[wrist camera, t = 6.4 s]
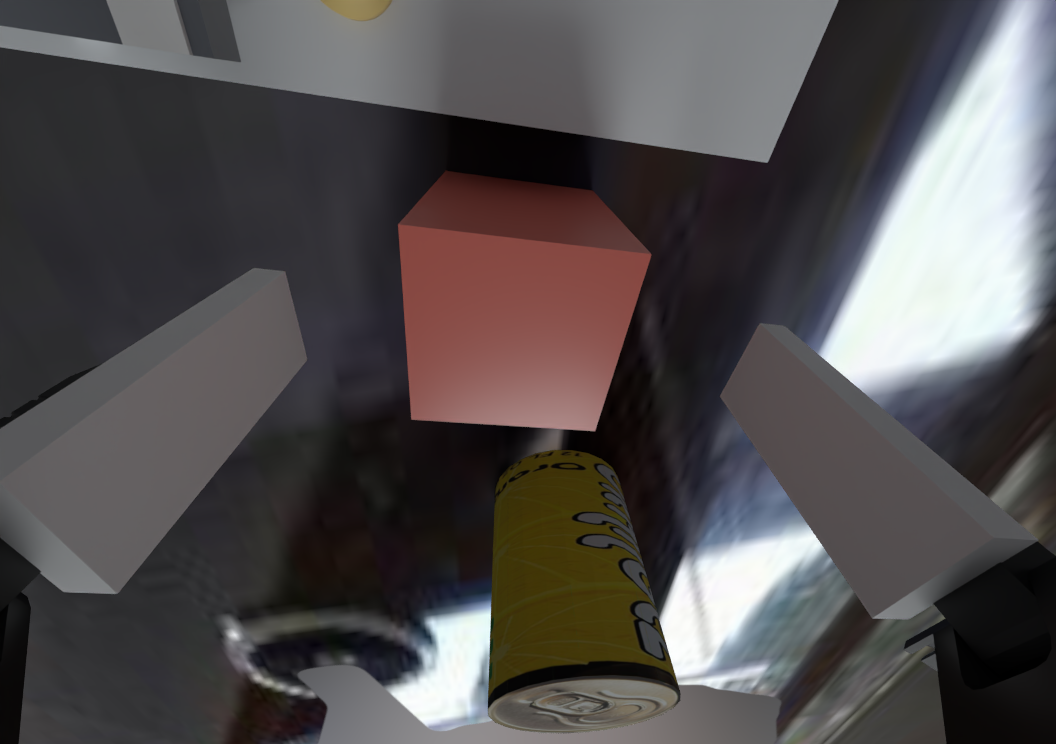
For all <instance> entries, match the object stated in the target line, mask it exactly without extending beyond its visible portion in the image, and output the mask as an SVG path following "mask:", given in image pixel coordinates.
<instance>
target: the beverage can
mask: <svg viewBox="0 0 1056 744" xmlns="http://www.w3.org/2000/svg"><path fill="white" fill-rule="evenodd" d="M679 701H680V690H679V687H678V683H677V680H676V676H675V673H674V669H673V666H672V663H671V659H670V656H669V652H668V649H667V645H666V642H665V638H664V635H663V632H662V628H661V625H660V621H659V618H658V614H657V611H656V607H655V604H654V600H653V597H652V594H651V590H650V587H649V583H648V580H647V576H646V573H645V569H644V566H643V563H642V559H641V556H640V552H639V549H638V545H637V542H636V538H635V535H634V531H633V528H632V525H631V521H630V518H629V514H628V511H627V507H626V504H625V500H624V497H623V493H622V490H621V487H620V483H619V480H618V476H617V475H616V473H615V472H614V470H613V468H612V467H611V466H610V465H609V464H607V463H606V462H605V461H604V460H602V459H600V458H598V457H596V456H593V455H591V454H589V453H584V452H579V451H573V450H552V451H547V452H542V453H537V454H534V455H531V456H529V457H526V458H524V459H521V460H519V461H518V462H516V463H515V464H513V465H512V466H510V467H509V468H508V469H507V470H506V471H505V472H504V473H503V474H502V476H501V477H500V478H499V480H498V483H497V485H496V488H495V513H494V542H493V572H492V602H491V631H490V661H489V690H488V715H489V717H490V718H491V719H492V720H493V721H494V722H495V723H498V724H500V725H503V726H505V727H508V728H513V729H517V730H522V731H530V732H540V733H576V732H590V731H599V730H607V729H613V728H618V727H624V726H628V725H632V724H636V723H640V722H643V721H647V720H649V719H652V718H655V717H657V716H660V715H662V714H664V713H666V712H667V711H669V710H671V709H672V708H674V707H675V706H676V704H677V703H678V702H679Z"/></svg>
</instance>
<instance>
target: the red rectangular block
mask: <svg viewBox="0 0 1056 744" xmlns="http://www.w3.org/2000/svg"><path fill="white" fill-rule="evenodd" d="M398 229H399V243H400V258H401V273H402V287H403V302H404V317H405V331H406V346H407V360H408V375H409V390H410V404H411V419H412V420H427V421H443V422H459V423H474V424H490V425H505V426H521V427H537V428H552V429H568V430H583V431H595V430H596V427H597V424H598V421H599V417H600V414H601V411H602V408H603V405H604V402H605V399H606V395H607V392H608V389H609V386H610V383H611V380H612V377H613V374H614V370H615V367H616V364H617V361H618V358H619V355H620V352H621V349H622V345H623V342H624V339H625V336H626V333H627V330H628V327H629V324H630V320H631V317H632V314H633V311H634V308H635V305H636V302H637V298H638V295H639V292H640V289H641V286H642V283H643V280H644V277H645V273H646V270H647V267H648V264H649V261H650V258H651V255H652V254H651V253H650V252H649V251H648V250H647V249H646V248H645V247H644V246H643V244H642V243H641V242H640V241H639V240H638V239H637V238H636V237H635V236H634V235H633V234H632V233H631V232H630V230H629V229H628V228H627V227H626V226H625V225H624V224H623V223H622V222H621V221H620V220H619V219H618V218H617V216H616V215H615V214H614V213H613V212H612V211H611V210H610V209H609V208H608V207H607V206H606V205H605V204H604V202H603V201H602V200H601V199H600V198H599V197H598V196H597V195H596V194H595V193H594V192H593V191H592V190H585V189H577V188H570V187H563V186H555V185H548V184H540V183H533V182H526V181H518V180H511V179H503V178H496V177H488V176H481V175H474V174H466V173H459V172H451V171H445V172H444V173H443V175H442V176H441V177H440V178H439V179H438V180H437V181H436V182H435V184H434V185H433V186H432V187H431V188H430V189H429V190H428V191H427V193H426V194H425V195H424V196H423V197H422V198H421V199H420V200H419V202H418V203H417V204H416V205H415V206H414V207H413V208H412V209H411V211H410V212H409V213H408V214H407V215H406V216H405V217H404V218H403V220H402V221H401V222H400V223H399V224H398Z"/></svg>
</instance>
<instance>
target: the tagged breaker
mask: <svg viewBox="0 0 1056 744" xmlns="http://www.w3.org/2000/svg"><path fill="white" fill-rule="evenodd" d="M0 26H6V27H12V28H19V29H25V30H32V31H38V32H45V33H51V34H58V35H64V36H71V37H77V38H84V39H90V40H96V41H103V42H109V43H116V44H122V45H128V46H135V47H141V48H148V49H154V50H161V51H167V52H174V53H180V54H187V55H193V56H200V57H206V58H213V59H220V60H228V61H235V62H241V59H240V55H239V51H238V47H237V43H236V39H235V35H234V30H233V26H232V22H231V18H230V14H229V10H228V6H227V2H226V0H0Z"/></svg>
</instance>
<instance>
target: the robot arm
mask: <svg viewBox="0 0 1056 744" xmlns="http://www.w3.org/2000/svg"><path fill="white" fill-rule="evenodd" d="M306 361H307V356H306V352H305V348H304V344H303V340H302V336H301V332H300V328H299V324H298V321H297V317H296V313H295V309H294V305H293V301H292V297H291V293H290V289H289V285H288V281H287V277H286V273H285V271H276V270H267V269H258V268H253V269H251V270H250V271H248V272H247V273H245V274H244V275H242V276H240V277H239V278H237V279H236V280H234V281H232V282H231V283H229V284H228V285H226V286H225V287H223V288H221V289H220V290H218V291H217V292H215V293H214V294H212V295H210V296H209V297H207V298H206V299H204V300H202V301H201V302H199V303H198V304H196V305H195V306H193V307H191V308H190V309H188V310H187V311H185V312H184V313H182V314H180V315H179V316H177V317H176V318H174V319H173V320H171V321H169V322H168V323H166V324H165V325H163V326H161V327H160V328H158V329H157V330H155V331H154V332H152V333H150V334H149V335H147V336H146V337H144V338H143V339H141V340H139V341H138V342H136V343H135V344H133V345H131V346H130V347H128V348H127V349H125V350H124V351H122V352H120V353H119V354H117V355H116V356H114V357H113V358H111V359H109V360H108V361H106V362H105V363H103V364H101V365H98V366H95V367H93V368H90V369H88V370H85V371H83V372H80V373H78V374H75V375H73V376H70V377H68V378H67V379H65V380H64V381H62V382H60V383H59V384H57V385H55V386H54V387H52V388H51V389H49V390H47V391H46V392H44V393H42V394H41V395H39V396H38V397H39V399H38V400H31V401H29V402H28V403H26V404H25V405H23V406H21V407H20V408H18V409H16V410H15V411H13V412H12V416H11V417H3V418H2V419H0V744H18V743H19V732H20V721H21V710H22V699H23V688H24V677H25V666H26V656H27V645H28V634H29V623H30V612H31V607H30V604H29V601H28V597H27V596H25V595H24V594H23V593H21V591H22V590H23V589H24V588H25V587H26V586H27V585H28V584H29V583H30V582H31V581H32V580H33V579H34V578H35V577H36V576H37V575H38V574H39V573H41V574H42V575H43V576H45V577H46V578H47V579H48V580H49V581H51V582H52V583H53V584H54V585H56V586H57V587H58V588H59V589H61V590H62V591H63V592H76V593H107V594H118V593H119V591H120V590H121V589H122V588H123V586H124V585H125V584H126V583H127V581H128V580H129V579H130V578H131V576H132V575H133V574H134V573H135V572H136V570H137V569H138V568H139V567H140V565H141V564H142V563H143V562H144V560H145V559H146V558H147V557H148V556H149V554H150V553H151V552H152V551H153V549H154V548H155V547H156V546H157V544H158V543H159V542H160V541H161V540H162V538H163V537H164V536H165V535H166V533H167V532H168V531H169V530H170V528H171V527H172V526H173V525H174V523H175V522H176V521H177V520H178V519H179V517H180V516H181V515H182V514H183V512H184V511H185V510H186V509H187V507H188V506H189V505H190V504H191V503H192V501H193V500H194V499H195V498H196V496H197V495H198V494H199V493H200V491H201V490H202V489H203V488H204V486H205V485H206V484H207V483H208V482H209V480H210V479H211V478H212V477H213V475H214V474H215V473H216V472H217V470H218V469H219V468H220V467H221V466H222V464H223V463H224V462H225V461H226V459H227V458H228V457H229V456H230V454H231V453H232V452H233V451H234V450H235V448H236V447H237V446H238V445H239V443H240V442H241V441H242V440H243V438H244V437H245V436H246V435H247V433H248V432H249V431H250V430H251V429H252V427H253V426H254V425H255V424H256V422H257V421H258V420H259V419H260V417H261V416H262V415H263V414H264V413H265V411H266V410H267V409H268V408H269V406H270V405H271V404H272V403H273V401H274V400H275V399H276V398H277V397H278V395H279V394H280V393H281V392H282V390H283V389H284V388H285V387H286V385H287V384H288V383H289V382H290V380H291V379H292V378H293V377H294V376H295V374H296V373H297V372H298V371H299V369H300V368H301V367H302V366H303V364H304V363H305V362H306ZM720 397H721V399H722V400H723V401H724V403H725V404H726V406H727V407H728V409H729V410H730V412H731V413H732V415H733V416H734V417H735V419H736V420H737V422H738V423H739V425H740V426H741V428H742V429H743V431H744V432H745V434H746V435H747V436H748V438H749V439H750V441H751V442H752V444H753V445H754V447H755V448H756V450H757V451H758V452H759V454H760V455H761V457H762V458H763V460H764V461H765V463H766V464H767V466H768V467H769V468H770V470H771V471H772V473H773V474H774V476H775V477H776V479H777V480H778V482H779V483H780V484H781V486H782V487H783V489H784V490H785V492H786V493H787V495H788V496H789V498H790V499H791V500H792V502H793V503H794V505H795V506H796V508H797V509H798V511H799V512H800V514H801V515H802V517H803V518H804V519H805V521H806V522H807V524H808V525H809V527H810V528H811V530H812V531H813V533H814V534H815V535H816V537H817V538H818V540H819V541H820V543H821V544H822V546H823V547H824V549H825V550H826V551H827V553H828V554H829V556H830V557H831V559H832V560H833V562H834V563H835V565H836V566H837V567H838V569H839V570H840V572H841V573H842V575H843V576H844V578H845V579H846V581H847V582H848V584H849V585H850V586H851V588H852V589H853V591H854V592H855V594H856V595H857V597H858V598H859V600H860V601H861V602H862V604H863V605H864V607H865V608H866V610H867V611H868V613H869V614H870V616H871V617H872V618H880V619H910V618H912V617H913V616H915V615H917V614H918V613H920V612H922V611H923V610H925V609H927V608H928V607H930V606H931V605H933V604H934V605H935V606H936V607H937V608H938V610H939V611H940V612H941V613H942V614H943V616H944V617H945V618H946V619H944V620H942V621H941V622H939V623H937V624H935V625H934V626H932V627H930V628H928V629H927V630H925V631H923V632H921V633H919V634H918V635H916V636H914V637H912V638H911V639H909V640H907V641H906V643H905V647H904V650H905V651H907V652H908V653H910V654H912V653H914V652H916V651H918V650H920V649H922V648H924V647H925V646H929V647H932V648H935V651H933V652H931V653H929V654H928V655H926V656H924V657H923V658H922V659H921V661H922V662H924V663H925V664H927V665H929V666H930V667H932V668H933V669H935V670H936V671H938V678H939V686H940V694H941V702H942V710H943V718H944V726H945V734H946V742H947V744H1056V556H1055V555H1054V554H1052V553H1051V552H1050V551H1048V550H1047V549H1046V548H1045V547H1043V546H1042V545H1041V544H1040V543H1039V542H1037V541H1038V539H1037V538H1036V537H1034V536H1033V535H1032V534H1031V533H1030V532H1028V531H1027V530H1026V529H1025V528H1024V527H1022V526H1021V525H1020V524H1019V523H1018V522H1017V521H1015V520H1014V519H1013V518H1012V517H1011V516H1009V515H1008V514H1007V513H1006V512H1005V511H1003V510H1002V509H1001V508H1000V507H999V506H998V505H996V504H995V503H994V502H993V501H992V500H990V499H989V498H988V497H987V496H986V495H984V494H983V493H982V492H981V491H980V490H979V489H977V488H976V487H975V486H974V485H973V484H971V483H970V482H969V481H968V480H967V479H965V478H964V477H963V476H962V475H961V474H960V473H958V472H957V471H956V470H955V469H954V468H952V467H951V466H950V465H949V464H948V463H946V462H945V461H944V460H943V459H942V458H941V457H939V456H938V455H937V454H936V453H935V452H933V451H932V450H931V449H930V448H929V447H927V446H926V445H925V444H924V443H923V442H922V441H920V440H919V439H918V438H917V437H916V436H914V435H913V434H912V433H911V432H910V431H908V430H907V429H906V428H905V427H904V426H903V425H901V424H900V423H899V422H898V421H897V420H895V419H894V418H893V417H892V416H891V415H889V414H888V413H887V412H886V411H885V410H884V409H882V408H881V407H880V406H879V405H878V404H876V403H875V402H874V401H873V400H872V399H870V398H869V397H868V396H867V395H866V394H865V393H863V392H862V391H861V390H860V389H859V388H857V387H856V386H855V385H854V384H853V383H851V382H850V381H849V380H848V379H847V378H846V377H844V376H843V375H842V374H841V373H840V372H838V371H837V370H836V369H835V368H834V367H832V366H831V365H830V364H829V363H828V362H827V361H825V360H824V359H823V358H822V357H821V356H819V355H818V354H817V353H816V352H815V351H813V350H812V349H811V348H810V347H809V346H808V345H806V344H805V343H804V342H803V341H802V340H800V339H799V338H798V337H797V336H796V335H794V334H793V333H792V332H791V331H790V330H789V329H787V328H786V327H785V326H781V325H771V324H762V323H760V324H759V326H758V327H757V329H756V331H755V333H754V335H753V337H752V338H751V340H750V342H749V344H748V346H747V348H746V349H745V351H744V353H743V355H742V357H741V359H740V360H739V362H738V364H737V366H736V368H735V370H734V371H733V373H732V375H731V377H730V379H729V381H728V382H727V384H726V386H725V388H724V390H723V392H722V394H721V395H720Z"/></svg>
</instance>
